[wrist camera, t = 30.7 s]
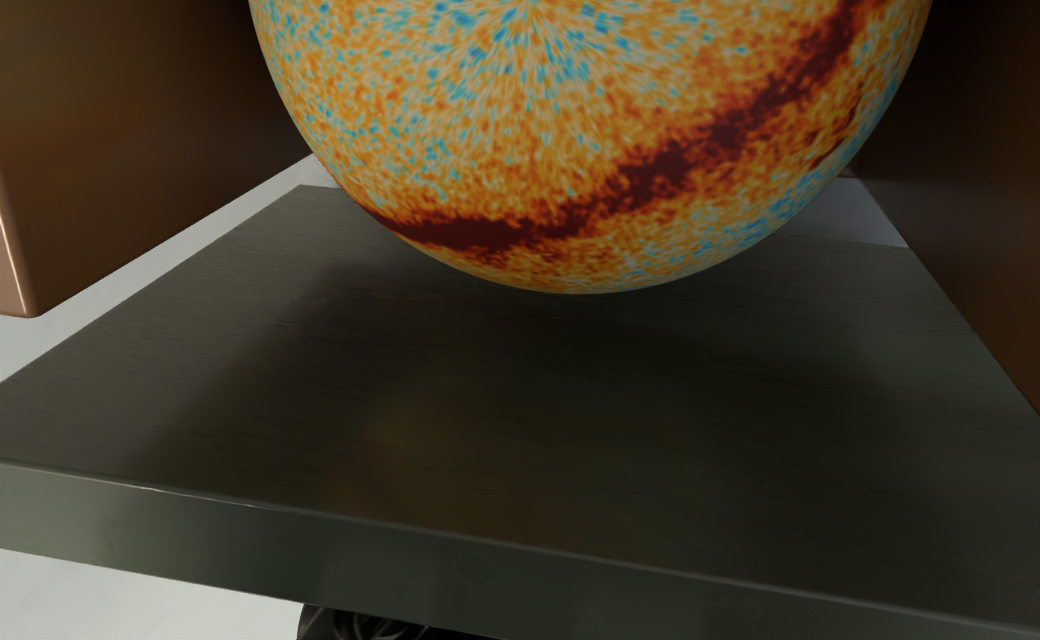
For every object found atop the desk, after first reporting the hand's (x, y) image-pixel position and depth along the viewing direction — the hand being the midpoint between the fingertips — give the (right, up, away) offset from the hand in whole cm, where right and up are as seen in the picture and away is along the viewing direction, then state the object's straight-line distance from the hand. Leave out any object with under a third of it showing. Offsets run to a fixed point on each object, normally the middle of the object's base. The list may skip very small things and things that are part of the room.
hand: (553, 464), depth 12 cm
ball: (+1, +8, 0) cm, 8 cm away
